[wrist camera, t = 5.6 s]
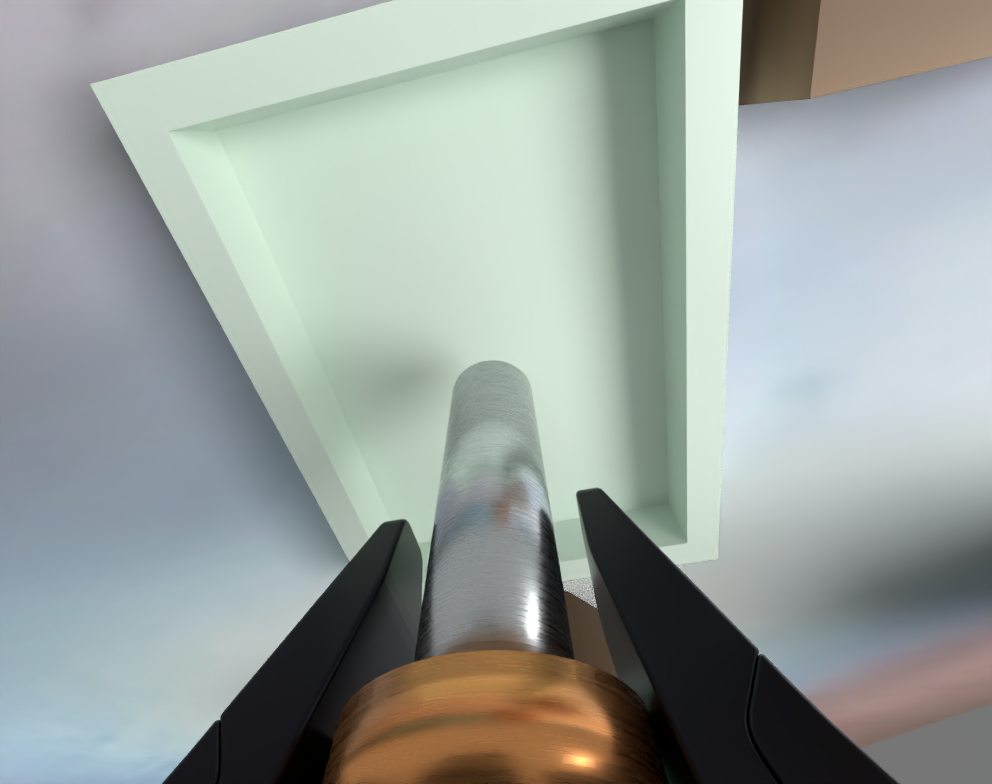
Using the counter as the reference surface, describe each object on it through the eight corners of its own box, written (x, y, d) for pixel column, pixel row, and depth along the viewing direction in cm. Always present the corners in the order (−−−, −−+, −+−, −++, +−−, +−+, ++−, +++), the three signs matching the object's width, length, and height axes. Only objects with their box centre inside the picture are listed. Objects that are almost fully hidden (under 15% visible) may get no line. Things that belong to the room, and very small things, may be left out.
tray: (690, 507, 17) (718, 559, 15) (388, 554, 19) (374, 608, 16) (691, -49, 10) (747, -99, 7) (168, 92, 11) (89, 84, 9)
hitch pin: (568, 438, 12) (688, 910, 5) (444, 460, 13) (379, 934, 5) (549, 319, 11) (685, 763, 3) (407, 348, 11) (232, 812, 4)
